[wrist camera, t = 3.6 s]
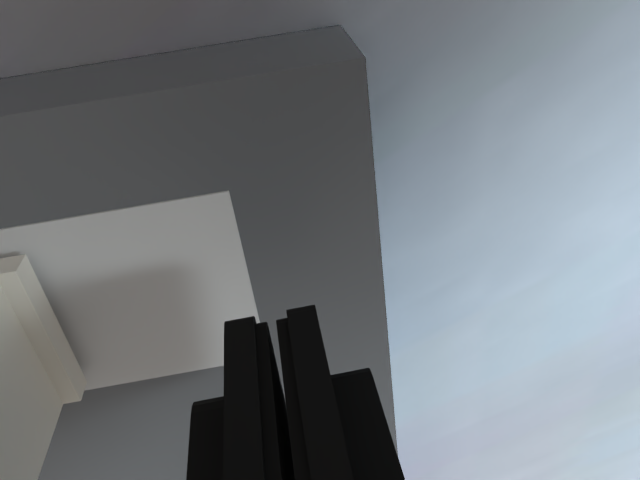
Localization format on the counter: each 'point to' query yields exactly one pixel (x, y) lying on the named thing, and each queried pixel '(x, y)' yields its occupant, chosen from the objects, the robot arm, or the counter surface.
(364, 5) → the counter surface
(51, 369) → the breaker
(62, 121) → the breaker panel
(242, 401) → the robot arm
